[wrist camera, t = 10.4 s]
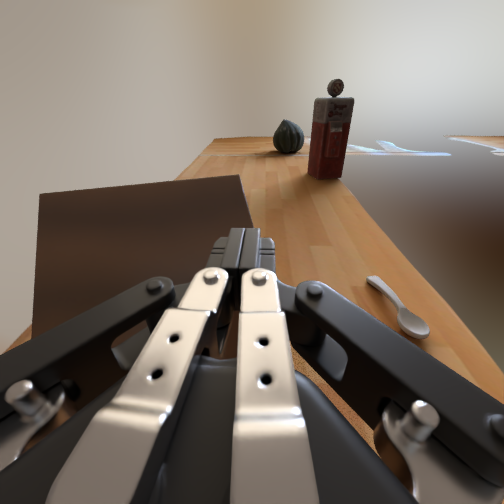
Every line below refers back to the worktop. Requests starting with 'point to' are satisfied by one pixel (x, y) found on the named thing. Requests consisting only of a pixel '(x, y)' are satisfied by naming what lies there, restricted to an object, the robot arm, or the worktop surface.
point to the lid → (129, 243)
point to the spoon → (402, 311)
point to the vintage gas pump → (330, 133)
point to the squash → (288, 137)
